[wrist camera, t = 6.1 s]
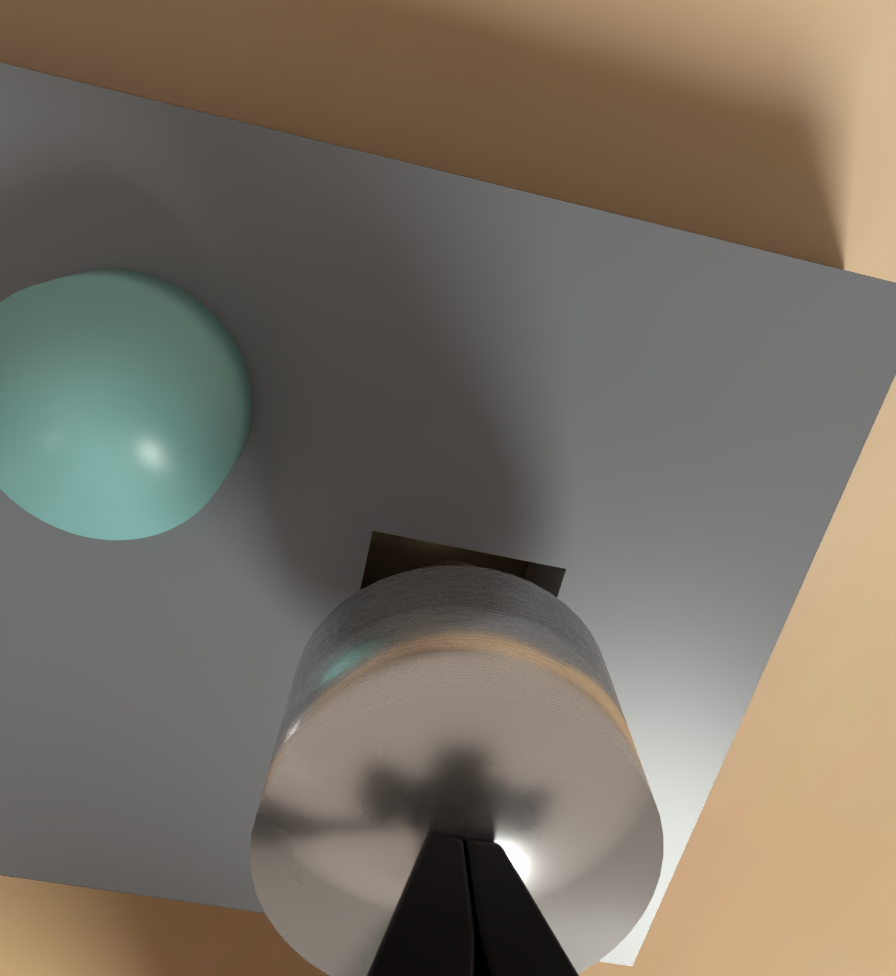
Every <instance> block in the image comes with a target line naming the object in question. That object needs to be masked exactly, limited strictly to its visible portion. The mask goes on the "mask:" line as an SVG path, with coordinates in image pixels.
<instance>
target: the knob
mask: <svg viewBox="0 0 896 976" xmlns="http://www.w3.org/2000/svg"><path fill="white" fill-rule="evenodd" d="M429 833H438V834H444V835H451V836H457V837H460V838H461V839H462V841H463V842H464V841H465V840H467V839H476V840H482V841H488V842H495V843H498V844H499V845H500V846H502V847H503V849H504V850H505V852H506V854H507V855H508V857H509V859H510V860H511V862H512V864H513V865H514V867H515V869H516V870H517V872H518V874H519V875H520V877H521V879H522V880H523V882H524V884H525V886H526V887H527V889H528V891H529V892H530V894H531V896H532V897H533V899H534V901H535V902H536V904H537V906H538V907H539V909H540V911H541V912H542V914H543V916H544V918H545V919H546V921H547V923H548V924H549V926H550V928H551V929H552V931H553V933H554V934H555V936H556V938H557V939H558V941H559V943H560V944H561V946H562V948H563V950H564V951H565V953H566V955H567V956H568V958H569V960H570V961H571V963H572V965H573V966H574V968H575V970H576V971H577V973H578V974H580V973H581V972H583V971H584V970H586V969H587V968H589V967H590V966H592V965H594V964H595V963H597V962H598V961H599V960H601V959H602V958H603V957H604V956H606V955H607V954H608V953H609V952H610V951H612V950H613V949H614V948H615V947H616V946H617V945H618V944H619V943H620V942H621V941H622V940H623V939H624V938H625V937H626V936H627V935H628V934H629V933H630V932H631V930H632V929H633V928H634V926H635V925H636V924H637V922H638V921H639V920H640V918H641V917H642V915H643V914H644V912H645V910H646V908H647V907H648V905H649V903H650V901H651V899H652V897H653V895H654V892H655V889H656V886H657V884H658V881H659V878H660V874H661V868H662V862H663V856H664V855H663V830H662V824H661V819H660V814H659V811H658V809H657V806H656V803H655V800H654V798H653V795H652V792H651V789H650V786H649V784H648V781H647V778H646V775H645V772H644V770H643V767H642V764H641V761H640V759H639V756H638V753H637V750H636V747H635V745H634V742H633V739H632V736H631V733H630V731H629V728H628V725H627V722H626V720H625V717H624V714H623V711H622V708H621V706H620V703H619V700H618V697H617V694H616V692H615V689H614V686H613V683H612V681H611V678H610V675H609V672H608V669H607V667H606V664H605V661H604V658H603V656H602V653H601V650H600V648H599V646H598V644H597V642H596V641H595V639H594V637H593V635H592V633H591V632H590V631H589V629H588V628H587V627H586V625H585V624H584V623H583V621H582V620H581V619H580V618H579V617H578V616H577V615H576V614H575V613H574V612H573V611H572V610H571V609H570V608H569V607H568V606H567V605H566V604H565V603H563V602H562V601H561V600H559V599H558V598H557V597H555V596H554V595H553V594H551V593H550V592H548V591H546V590H545V589H543V588H541V587H539V586H537V585H535V584H534V583H532V582H530V581H527V580H524V579H522V578H519V577H517V576H514V575H512V574H508V573H504V572H500V571H497V570H493V569H488V568H480V567H476V566H474V565H471V564H468V563H465V562H461V561H454V560H443V561H436V562H431V563H428V564H425V565H423V566H421V567H419V568H417V569H415V570H411V571H406V572H402V573H399V574H396V575H393V576H390V577H387V578H384V579H382V580H379V581H377V582H375V583H373V584H371V585H369V586H367V587H365V588H363V589H361V590H360V591H358V592H357V593H355V594H354V595H352V596H351V597H349V598H348V599H346V600H345V601H343V602H342V603H341V604H340V605H339V606H338V607H336V608H335V609H334V610H333V611H332V612H331V613H330V614H328V616H327V617H326V618H325V619H324V620H323V621H322V623H321V624H320V625H319V626H318V627H317V628H316V630H315V631H314V633H313V634H312V636H311V637H310V639H309V640H308V642H307V644H306V645H305V647H304V650H303V652H302V654H301V656H300V659H299V661H298V664H297V668H296V671H295V675H294V679H293V682H292V686H291V690H290V693H289V697H288V701H287V704H286V708H285V712H284V715H283V719H282V723H281V726H280V730H279V734H278V737H277V741H276V745H275V748H274V752H273V756H272V759H271V763H270V767H269V770H268V774H267V778H266V781H265V785H264V789H263V792H262V796H261V800H260V803H259V807H258V811H257V814H256V818H255V822H254V826H253V829H252V833H251V843H250V866H251V876H252V879H253V883H254V887H255V891H256V894H257V897H258V899H259V901H260V903H261V906H262V908H263V910H264V912H265V914H266V916H267V917H268V919H269V920H270V922H271V923H272V925H273V926H274V928H275V929H276V931H277V932H278V933H279V934H280V935H281V937H282V938H283V939H284V940H285V941H286V942H287V943H288V945H289V946H290V947H291V948H292V949H294V950H295V951H296V952H297V953H298V954H299V955H300V956H302V957H303V958H304V959H305V960H306V961H307V962H309V963H310V964H312V965H313V966H315V967H316V968H318V969H319V970H321V971H322V972H324V973H325V974H327V975H329V976H367V973H368V971H369V969H370V966H371V964H372V962H373V959H374V957H375V955H376V952H377V950H378V948H379V945H380V943H381V941H382V938H383V936H384V934H385V931H386V929H387V927H388V924H389V922H390V919H391V917H392V915H393V912H394V910H395V908H396V905H397V903H398V901H399V898H400V896H401V894H402V891H403V889H404V887H405V884H406V882H407V880H408V877H409V875H410V873H411V870H412V868H413V865H414V863H415V861H416V858H417V856H418V854H419V851H420V849H421V847H422V844H423V842H424V840H425V838H426V836H427V835H428V834H429Z"/></svg>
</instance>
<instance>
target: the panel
mask: <svg viewBox="0 0 896 976" xmlns="http://www.w3.org/2000/svg"><path fill="white" fill-rule="evenodd" d="M97 269H125V270H131V271H138V272H142V273H145V274H149V275H152V276H156V277H158V278H161V279H163V280H165V281H168V282H170V283H172V284H174V285H176V286H178V287H179V288H181V289H183V290H185V291H186V292H188V293H189V294H191V295H192V296H193V297H195V298H196V299H197V300H199V301H200V302H201V303H203V304H204V305H205V306H206V307H207V308H208V309H209V310H210V311H211V312H212V313H213V314H214V315H215V316H216V317H217V318H218V319H219V320H220V322H221V323H222V324H223V325H224V326H225V328H226V329H227V330H228V332H229V333H230V335H231V336H232V338H233V339H234V341H235V343H236V344H237V346H238V348H239V350H240V353H241V355H242V357H243V359H244V362H245V365H246V368H247V371H248V373H249V378H250V383H251V388H252V399H253V411H252V422H251V427H250V431H249V435H248V438H247V441H246V444H245V446H244V449H243V451H242V452H241V454H240V456H239V458H238V460H237V461H236V463H235V464H234V466H233V467H232V469H231V470H230V472H229V473H228V475H227V476H226V478H225V479H224V481H223V482H222V484H221V485H220V487H219V488H218V490H217V491H216V492H215V494H214V495H213V496H212V498H211V499H210V500H209V501H208V503H207V504H206V505H205V506H204V507H203V508H202V509H200V510H199V511H198V512H197V513H196V514H195V515H193V516H192V517H191V518H189V519H188V520H187V521H185V522H184V523H182V524H180V525H178V526H176V527H174V528H172V529H170V530H168V531H165V532H162V533H160V534H157V535H153V536H149V537H145V538H140V539H131V540H103V539H95V538H89V537H85V536H81V535H76V534H73V533H70V532H67V531H64V530H62V529H59V528H56V527H54V526H52V525H50V524H48V523H46V522H44V521H42V520H40V519H38V518H37V517H35V516H33V515H32V514H30V513H29V512H27V511H25V510H24V509H23V508H22V507H20V506H19V505H18V504H16V503H15V502H14V501H13V500H11V499H10V498H9V497H8V496H7V495H6V494H5V493H4V492H3V491H2V490H1V489H0V875H3V876H10V877H17V878H24V879H31V880H38V881H45V882H52V883H59V884H66V885H73V886H80V887H87V888H93V889H100V890H107V891H114V892H121V893H128V894H135V895H142V896H149V897H156V898H163V899H170V900H177V901H183V902H190V903H197V904H204V905H211V906H218V907H225V908H232V909H239V910H246V911H253V912H260V913H265V912H264V910H263V908H262V906H261V903H260V901H259V899H258V897H257V894H256V891H255V887H254V883H253V879H252V876H251V866H250V843H251V833H252V829H253V826H254V822H255V818H256V814H257V811H258V807H259V803H260V800H261V796H262V792H263V789H264V785H265V781H266V778H267V774H268V770H269V767H270V763H271V759H272V756H273V752H274V748H275V745H276V741H277V737H278V734H279V730H280V726H281V723H282V719H283V715H284V712H285V708H286V704H287V701H288V697H289V693H290V690H291V686H292V682H293V679H294V675H295V671H296V668H297V664H298V661H299V659H300V656H301V654H302V652H303V650H304V647H305V645H306V644H307V642H308V640H309V639H310V637H311V636H312V634H313V633H314V631H315V630H316V628H317V627H318V626H319V625H320V624H321V623H322V621H323V620H324V619H325V618H326V617H327V616H328V614H330V613H331V612H332V611H333V610H334V609H335V608H336V607H338V606H339V605H340V604H341V603H342V602H343V601H345V600H346V599H348V598H349V597H351V596H352V595H354V594H355V593H357V592H358V591H360V588H361V583H362V579H363V574H364V569H365V564H366V560H367V555H368V550H369V546H370V541H371V536H372V531H376V532H381V533H386V534H391V535H396V536H402V537H407V538H412V539H417V540H422V541H427V542H432V543H437V544H442V545H447V546H452V547H457V548H463V549H468V550H473V551H478V552H483V553H488V554H493V555H498V556H503V557H508V558H513V559H518V560H524V561H529V565H528V568H527V572H526V575H525V578H524V580H527V581H530V582H532V583H534V584H535V585H537V586H539V587H541V588H543V589H545V590H546V591H548V592H550V593H551V594H553V595H554V596H555V597H557V598H558V599H559V600H561V601H562V602H563V603H565V604H566V605H567V606H568V607H569V608H570V609H571V610H572V611H573V612H574V613H575V614H576V615H577V616H578V617H579V618H580V619H581V620H582V621H583V623H584V624H585V625H586V627H587V628H588V629H589V631H590V632H591V633H592V635H593V637H594V639H595V641H596V642H597V644H598V646H599V648H600V650H601V653H602V656H603V658H604V661H605V664H606V667H607V669H608V672H609V675H610V678H611V681H612V683H613V686H614V689H615V692H616V694H617V697H618V700H619V703H620V706H621V708H622V711H623V714H624V717H625V720H626V722H627V725H628V728H629V731H630V733H631V736H632V739H633V742H634V745H635V747H636V750H637V753H638V756H639V759H640V761H641V764H642V767H643V770H644V772H645V775H646V778H647V781H648V784H649V786H650V789H651V792H652V795H653V798H654V800H655V803H656V806H657V809H658V811H659V814H660V819H661V824H662V830H663V855H664V856H663V862H662V868H661V874H660V878H659V881H658V884H657V886H656V889H655V892H654V895H653V897H652V899H651V901H650V903H649V905H648V907H647V908H646V910H645V912H644V914H643V915H642V917H641V918H640V920H639V921H638V922H637V924H636V925H635V926H634V928H633V929H632V930H631V932H630V933H629V934H628V935H627V936H626V937H625V938H624V939H623V940H622V941H621V942H620V943H619V944H618V945H617V946H616V947H615V948H614V949H613V950H612V951H610V952H609V953H608V954H607V955H606V956H604V957H603V958H602V959H601V960H599V962H606V963H613V964H620V965H627V966H633V963H634V961H635V959H636V957H637V954H638V952H639V950H640V948H641V945H642V943H643V941H644V939H645V936H646V934H647V932H648V930H649V927H650V925H651V923H652V921H653V918H654V916H655V914H656V912H657V909H658V907H659V905H660V903H661V900H662V898H663V896H664V894H665V891H666V889H667V887H668V885H669V882H670V880H671V878H672V876H673V873H674V871H675V869H676V867H677V864H678V862H679V860H680V858H681V855H682V853H683V851H684V849H685V846H686V844H687V842H688V840H689V838H690V835H691V833H692V831H693V829H694V826H695V824H696V822H697V820H698V817H699V815H700V813H701V811H702V808H703V806H704V804H705V802H706V799H707V797H708V795H709V793H710V790H711V788H712V786H713V784H714V781H715V779H716V777H717V775H718V772H719V770H720V768H721V766H722V763H723V761H724V759H725V757H726V754H727V752H728V750H729V748H730V745H731V743H732V741H733V739H734V736H735V734H736V732H737V730H738V727H739V725H740V723H741V721H742V718H743V716H744V714H745V712H746V709H747V707H748V705H749V703H750V700H751V698H752V696H753V694H754V691H755V689H756V687H757V685H758V682H759V680H760V678H761V676H762V673H763V671H764V669H765V667H766V664H767V662H768V660H769V658H770V655H771V653H772V651H773V649H774V646H775V644H776V642H777V640H778V637H779V635H780V633H781V631H782V628H783V626H784V624H785V622H786V619H787V617H788V615H789V613H790V610H791V608H792V606H793V604H794V601H795V599H796V597H797V595H798V592H799V590H800V588H801V586H802V583H803V581H804V579H805V577H806V574H807V572H808V570H809V568H810V565H811V563H812V561H813V559H814V557H815V554H816V552H817V550H818V548H819V545H820V543H821V541H822V539H823V536H824V534H825V532H826V530H827V527H828V525H829V523H830V521H831V518H832V516H833V514H834V512H835V509H836V507H837V505H838V503H839V500H840V498H841V496H842V494H843V491H844V489H845V487H846V485H847V482H848V480H849V478H850V476H851V473H852V471H853V469H854V467H855V464H856V462H857V460H858V458H859V455H860V453H861V451H862V449H863V446H864V444H865V442H866V440H867V437H868V435H869V433H870V431H871V428H872V426H873V424H874V422H875V419H876V417H877V415H878V413H879V410H880V408H881V406H882V404H883V401H884V399H885V397H886V395H887V392H888V390H889V388H890V386H891V383H892V381H893V379H894V377H895V374H896V283H894V282H890V281H886V280H882V279H878V278H874V277H870V276H866V275H862V274H858V273H854V272H850V271H846V270H842V269H837V268H833V267H829V266H825V265H821V264H817V263H813V262H809V261H805V260H801V259H797V258H793V257H789V256H785V255H781V254H777V253H773V252H768V251H764V250H760V249H756V248H752V247H748V246H744V245H740V244H736V243H732V242H728V241H724V240H720V239H716V238H712V237H708V236H704V235H699V234H695V233H691V232H687V231H683V230H679V229H675V228H671V227H667V226H663V225H659V224H655V223H651V222H647V221H643V220H639V219H635V218H630V217H626V216H622V215H618V214H614V213H610V212H606V211H602V210H598V209H594V208H590V207H586V206H582V205H578V204H574V203H570V202H566V201H561V200H557V199H553V198H549V197H545V196H541V195H537V194H533V193H529V192H525V191H521V190H517V189H513V188H509V187H505V186H501V185H497V184H492V183H488V182H484V181H480V180H476V179H472V178H468V177H464V176H460V175H456V174H452V173H448V172H444V171H440V170H436V169H432V168H427V167H423V166H419V165H415V164H411V163H407V162H403V161H399V160H395V159H391V158H387V157H383V156H379V155H375V154H371V153H367V152H363V151H358V150H354V149H350V148H346V147H342V146H338V145H334V144H330V143H326V142H322V141H318V140H314V139H310V138H306V137H302V136H298V135H294V134H289V133H285V132H281V131H277V130H273V129H269V128H265V127H261V126H257V125H253V124H249V123H245V122H241V121H237V120H233V119H229V118H225V117H220V116H216V115H212V114H208V113H204V112H200V111H196V110H192V109H188V108H184V107H180V106H176V105H172V104H168V103H164V102H160V101H156V100H151V99H147V98H143V97H139V96H135V95H131V94H127V93H123V92H119V91H115V90H111V89H107V88H103V87H99V86H95V85H91V84H87V83H82V82H78V81H74V80H70V79H66V78H62V77H58V76H54V75H50V74H46V73H42V72H38V71H34V70H30V69H26V68H22V67H18V66H13V65H9V64H5V63H1V62H0V302H1V301H3V300H4V299H6V298H8V297H9V296H11V295H13V294H14V293H16V292H18V291H21V290H23V289H25V288H28V287H30V286H33V285H37V284H40V283H44V282H47V281H51V280H54V279H58V278H62V277H65V276H69V275H72V274H76V273H80V272H84V271H88V270H97Z"/></svg>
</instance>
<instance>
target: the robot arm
mask: <svg viewBox="0 0 896 976" xmlns="http://www.w3.org/2000/svg"><path fill="white" fill-rule="evenodd" d="M367 976H579V975H578V973H577V971H576V970H575V968H574V966H573V965H572V963H571V961H570V960H569V958H568V956H567V955H566V953H565V951H564V950H563V948H562V946H561V944H560V943H559V941H558V939H557V938H556V936H555V934H554V933H553V931H552V929H551V928H550V926H549V924H548V923H547V921H546V919H545V918H544V916H543V914H542V912H541V911H540V909H539V907H538V906H537V904H536V902H535V901H534V899H533V897H532V896H531V894H530V892H529V891H528V889H527V887H526V886H525V884H524V882H523V880H522V879H521V877H520V875H519V874H518V872H517V870H516V869H515V867H514V865H513V864H512V862H511V860H510V859H509V857H508V855H507V854H506V852H505V850H504V849H503V847H502V846H500V845H499V844H498V843H495V842H488V841H482V840H476V839H467V840H465V841H464V842H463V841H462V839H461V838H460V837H457V836H451V835H444V834H438V833H429V834H428V835H427V836H426V838H425V840H424V842H423V844H422V847H421V849H420V851H419V854H418V856H417V858H416V861H415V863H414V865H413V868H412V870H411V873H410V875H409V877H408V880H407V882H406V884H405V887H404V889H403V891H402V894H401V896H400V898H399V901H398V903H397V905H396V908H395V910H394V912H393V915H392V917H391V919H390V922H389V924H388V927H387V929H386V931H385V934H384V936H383V938H382V941H381V943H380V945H379V948H378V950H377V952H376V955H375V957H374V959H373V962H372V964H371V966H370V969H369V971H368V973H367Z"/></svg>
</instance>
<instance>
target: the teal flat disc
mask: <svg viewBox="0 0 896 976" xmlns="http://www.w3.org/2000/svg"><path fill="white" fill-rule="evenodd" d="M252 411H253V399H252V388H251V383H250V378H249V373H248V371H247V368H246V365H245V362H244V359H243V357H242V355H241V353H240V350H239V348H238V346H237V344H236V343H235V341H234V339H233V338H232V336H231V335H230V333H229V332H228V330H227V329H226V328H225V326H224V325H223V324H222V323H221V322H220V320H219V319H218V318H217V317H216V316H215V315H214V314H213V313H212V312H211V311H210V310H209V309H208V308H207V307H206V306H205V305H204V304H203V303H201V302H200V301H199V300H197V299H196V298H195V297H193V296H192V295H191V294H189V293H188V292H186V291H185V290H183V289H181V288H179V287H178V286H176V285H174V284H172V283H170V282H168V281H165V280H163V279H161V278H158V277H156V276H152V275H149V274H145V273H142V272H138V271H131V270H125V269H97V270H88V271H84V272H80V273H76V274H72V275H69V276H65V277H62V278H58V279H54V280H51V281H47V282H44V283H40V284H37V285H33V286H30V287H28V288H25V289H23V290H21V291H18V292H16V293H14V294H13V295H11V296H9V297H8V298H6V299H4V300H3V301H1V302H0V489H1V490H2V491H3V492H4V493H5V494H6V495H7V496H8V497H9V498H10V499H11V500H13V501H14V502H15V503H16V504H18V505H19V506H20V507H22V508H23V509H24V510H25V511H27V512H29V513H30V514H32V515H33V516H35V517H37V518H38V519H40V520H42V521H44V522H46V523H48V524H50V525H52V526H54V527H56V528H59V529H62V530H64V531H67V532H70V533H73V534H76V535H81V536H85V537H89V538H95V539H103V540H131V539H140V538H145V537H149V536H153V535H157V534H160V533H162V532H165V531H168V530H170V529H172V528H174V527H176V526H178V525H180V524H182V523H184V522H185V521H187V520H188V519H189V518H191V517H192V516H193V515H195V514H196V513H197V512H198V511H199V510H200V509H202V508H203V507H204V506H205V505H206V504H207V503H208V501H209V500H210V499H211V498H212V496H213V495H214V494H215V492H216V491H217V490H218V488H219V487H220V485H221V484H222V482H223V481H224V479H225V478H226V476H227V475H228V473H229V472H230V470H231V469H232V467H233V466H234V464H235V463H236V461H237V460H238V458H239V456H240V454H241V452H242V451H243V449H244V446H245V444H246V441H247V438H248V435H249V431H250V427H251V422H252Z"/></svg>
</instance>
